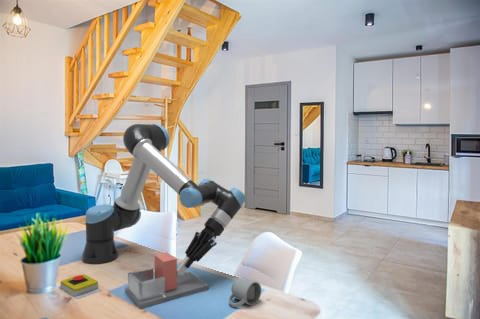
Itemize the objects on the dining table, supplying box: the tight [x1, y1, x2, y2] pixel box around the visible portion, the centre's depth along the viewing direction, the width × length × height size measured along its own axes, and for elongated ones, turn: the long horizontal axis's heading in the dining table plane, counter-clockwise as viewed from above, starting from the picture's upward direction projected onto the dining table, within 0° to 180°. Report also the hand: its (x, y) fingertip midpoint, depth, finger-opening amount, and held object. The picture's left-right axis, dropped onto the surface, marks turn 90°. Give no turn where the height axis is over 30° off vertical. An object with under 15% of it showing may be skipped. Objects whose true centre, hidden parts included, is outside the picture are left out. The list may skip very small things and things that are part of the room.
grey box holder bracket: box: [127, 267, 165, 302], centre depth 125 cm, size 11×9×6 cm
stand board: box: [124, 271, 210, 310], centre depth 130 cm, size 15×26×2 cm, turn 126°
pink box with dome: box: [154, 252, 179, 292], centre depth 130 cm, size 8×6×11 cm
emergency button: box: [59, 273, 102, 300], centre depth 131 cm, size 9×4×15 cm
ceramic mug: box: [228, 277, 262, 308], centre depth 122 cm, size 11×8×8 cm
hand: (178, 273), depth 132 cm, fingers closed
